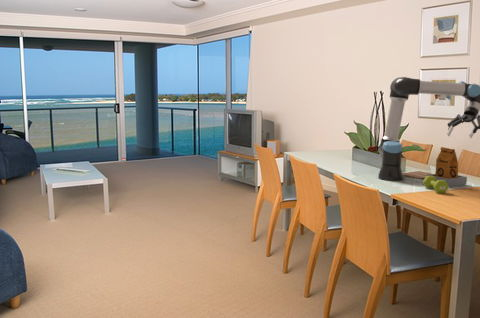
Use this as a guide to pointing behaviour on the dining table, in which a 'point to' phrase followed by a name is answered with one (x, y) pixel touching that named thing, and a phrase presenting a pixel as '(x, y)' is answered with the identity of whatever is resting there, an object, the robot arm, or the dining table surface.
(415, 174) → the board
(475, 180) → the dining table surface
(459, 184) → the tray
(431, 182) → the dumbbell
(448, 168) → the coffee package
